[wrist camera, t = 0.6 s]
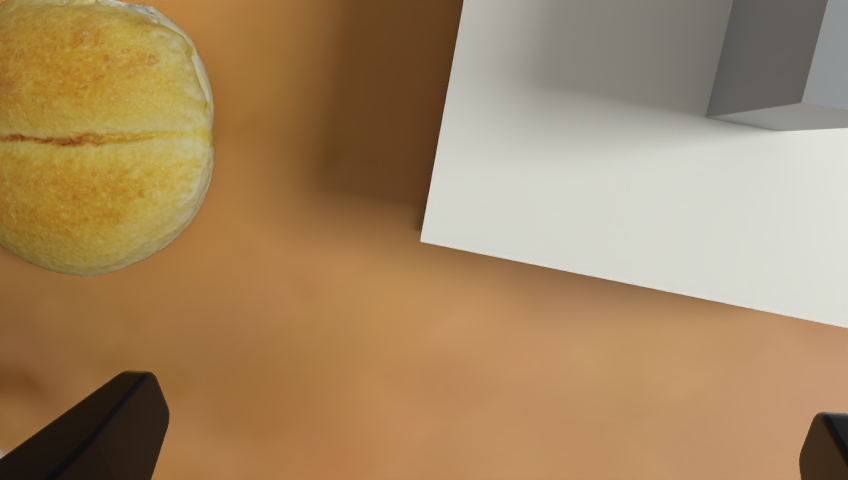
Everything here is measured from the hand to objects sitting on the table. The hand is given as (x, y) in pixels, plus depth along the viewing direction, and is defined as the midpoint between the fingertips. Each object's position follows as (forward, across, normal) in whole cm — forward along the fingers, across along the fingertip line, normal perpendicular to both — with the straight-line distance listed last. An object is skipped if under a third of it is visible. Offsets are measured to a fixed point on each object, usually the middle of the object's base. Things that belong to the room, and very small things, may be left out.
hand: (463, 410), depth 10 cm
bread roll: (+14, +13, +3) cm, 19 cm away
